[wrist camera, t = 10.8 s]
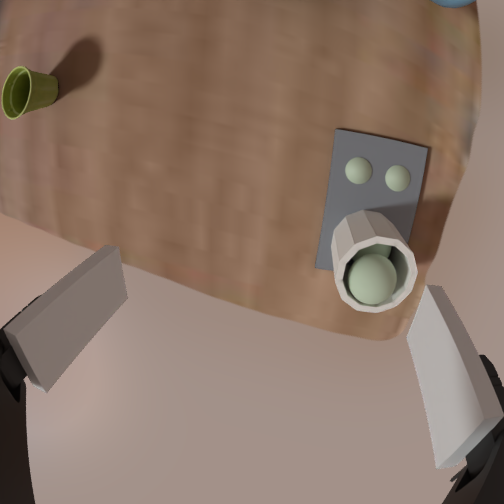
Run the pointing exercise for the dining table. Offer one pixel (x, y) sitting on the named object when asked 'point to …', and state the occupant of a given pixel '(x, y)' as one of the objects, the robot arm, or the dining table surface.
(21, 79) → the plant pot
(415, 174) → the tube stand
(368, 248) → the sage ball
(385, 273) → the sage ball
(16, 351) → the robot arm
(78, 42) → the dining table surface
